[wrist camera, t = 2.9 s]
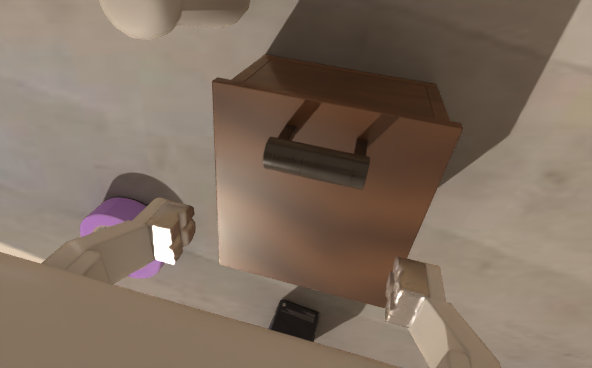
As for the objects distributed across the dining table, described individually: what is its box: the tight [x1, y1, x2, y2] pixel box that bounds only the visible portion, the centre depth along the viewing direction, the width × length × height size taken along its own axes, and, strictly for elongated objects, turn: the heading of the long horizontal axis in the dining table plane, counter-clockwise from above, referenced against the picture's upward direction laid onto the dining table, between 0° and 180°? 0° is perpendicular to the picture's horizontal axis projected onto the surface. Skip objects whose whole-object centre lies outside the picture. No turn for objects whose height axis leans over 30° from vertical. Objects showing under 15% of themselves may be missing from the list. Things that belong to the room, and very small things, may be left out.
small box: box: [269, 300, 320, 342], centre depth 47 cm, size 11×6×10 cm, turn 166°
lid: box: [212, 78, 463, 308], centre depth 23 cm, size 17×15×5 cm
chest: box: [232, 55, 450, 121], centre depth 29 cm, size 16×15×10 cm
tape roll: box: [80, 197, 165, 278], centre depth 46 cm, size 12×12×4 cm
